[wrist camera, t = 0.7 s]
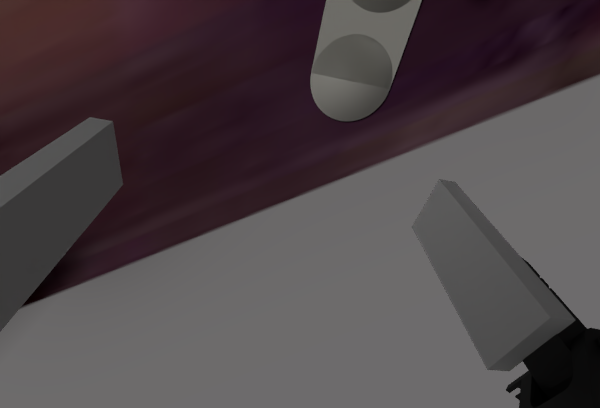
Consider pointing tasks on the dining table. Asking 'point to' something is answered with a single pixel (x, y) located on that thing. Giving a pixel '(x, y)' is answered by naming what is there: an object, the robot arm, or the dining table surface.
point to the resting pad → (359, 54)
